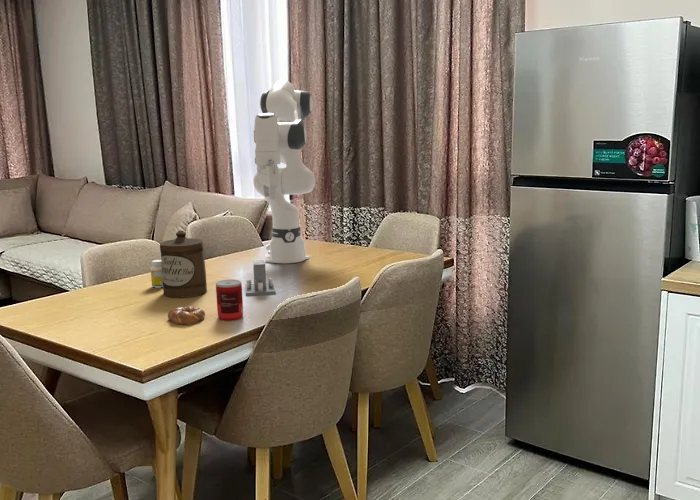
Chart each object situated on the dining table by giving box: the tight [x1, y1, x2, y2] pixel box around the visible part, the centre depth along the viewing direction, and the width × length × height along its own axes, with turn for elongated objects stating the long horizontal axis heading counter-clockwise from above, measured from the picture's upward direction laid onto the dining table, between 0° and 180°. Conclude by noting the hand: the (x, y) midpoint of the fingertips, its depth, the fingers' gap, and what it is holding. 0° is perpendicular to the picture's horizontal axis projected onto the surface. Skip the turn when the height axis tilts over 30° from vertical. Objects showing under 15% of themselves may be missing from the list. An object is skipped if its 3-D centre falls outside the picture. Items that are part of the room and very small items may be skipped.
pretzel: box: [167, 305, 206, 326], centre depth 206 cm, size 12×11×4 cm
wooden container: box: [159, 230, 208, 299], centre depth 237 cm, size 15×15×22 cm
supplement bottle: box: [150, 259, 163, 289], centre depth 248 cm, size 5×5×10 cm
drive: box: [252, 259, 267, 290], centre depth 239 cm, size 7×4×9 cm, turn 10°
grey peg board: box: [244, 277, 277, 297], centre depth 239 cm, size 13×10×4 cm
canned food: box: [215, 278, 244, 322], centre depth 206 cm, size 8×8×11 cm
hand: (269, 198), depth 246 cm, fingers open, 8 cm apart
